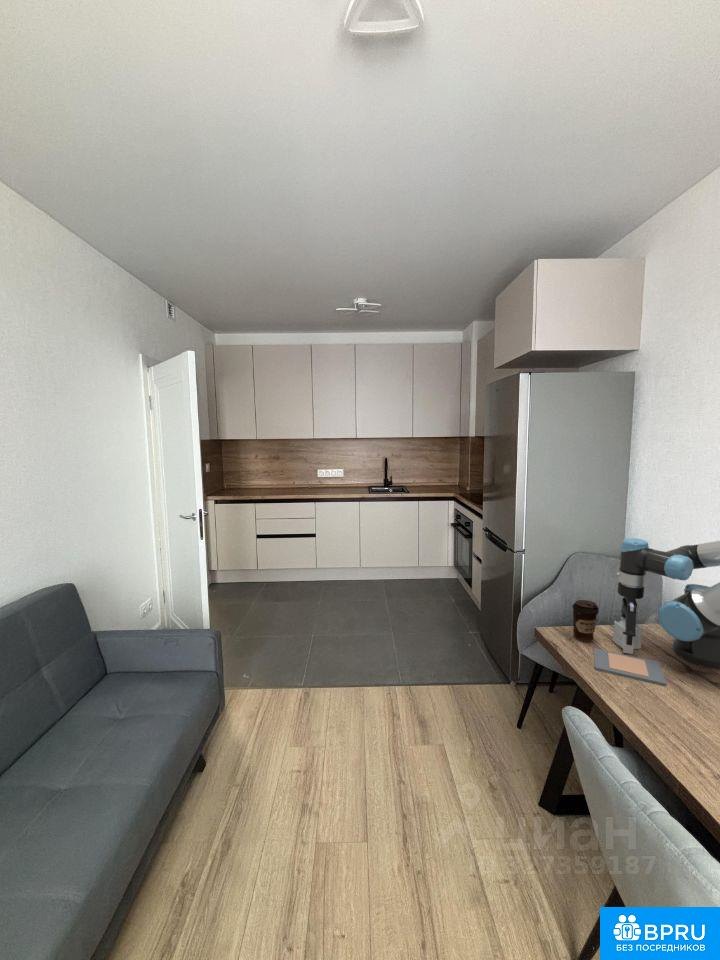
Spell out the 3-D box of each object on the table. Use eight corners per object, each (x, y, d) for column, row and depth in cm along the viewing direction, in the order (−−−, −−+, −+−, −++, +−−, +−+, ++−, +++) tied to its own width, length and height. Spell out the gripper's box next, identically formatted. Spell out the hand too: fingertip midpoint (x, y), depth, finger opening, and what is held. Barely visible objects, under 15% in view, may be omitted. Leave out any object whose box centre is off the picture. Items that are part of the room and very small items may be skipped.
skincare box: (641, 649, 142) (642, 628, 141) (623, 649, 142) (625, 628, 141) (629, 640, 148) (630, 620, 147) (612, 640, 148) (613, 620, 147)
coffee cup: (602, 644, 145) (605, 608, 143) (577, 644, 145) (580, 608, 143) (589, 632, 153) (591, 598, 152) (566, 632, 154) (568, 598, 152)
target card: (658, 664, 133) (659, 661, 133) (666, 686, 121) (666, 683, 121) (593, 650, 141) (594, 647, 141) (594, 669, 130) (595, 666, 130)
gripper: (615, 571, 155) (611, 626, 157) (621, 594, 133) (615, 658, 136) (640, 574, 151) (635, 631, 154) (649, 599, 130) (643, 664, 132)
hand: (626, 644), depth 145 cm, fingers open, 12 cm apart
